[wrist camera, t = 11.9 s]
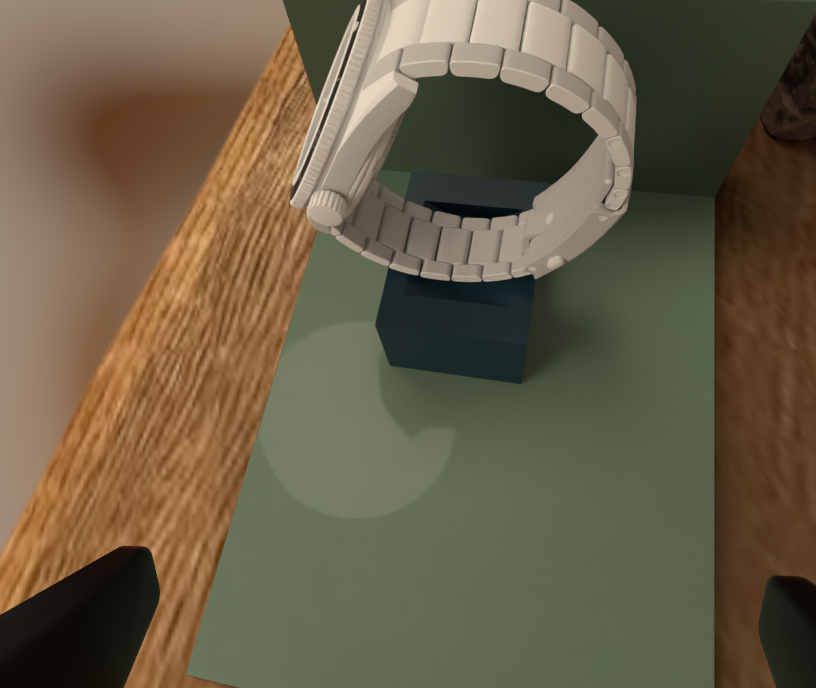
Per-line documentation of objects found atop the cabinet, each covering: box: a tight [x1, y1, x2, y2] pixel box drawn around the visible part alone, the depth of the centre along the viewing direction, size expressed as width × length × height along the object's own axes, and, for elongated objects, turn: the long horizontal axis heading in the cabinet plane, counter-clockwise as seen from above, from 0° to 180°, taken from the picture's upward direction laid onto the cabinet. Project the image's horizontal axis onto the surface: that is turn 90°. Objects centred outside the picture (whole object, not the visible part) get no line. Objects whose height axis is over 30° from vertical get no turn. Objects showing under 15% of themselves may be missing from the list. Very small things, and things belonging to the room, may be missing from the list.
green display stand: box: [186, 0, 816, 688], centre depth 17 cm, size 20×14×8 cm
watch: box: [290, 0, 637, 384], centre depth 16 cm, size 6×8×11 cm
